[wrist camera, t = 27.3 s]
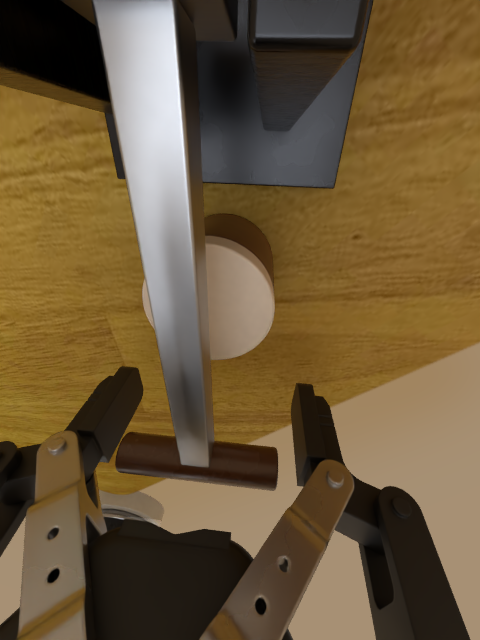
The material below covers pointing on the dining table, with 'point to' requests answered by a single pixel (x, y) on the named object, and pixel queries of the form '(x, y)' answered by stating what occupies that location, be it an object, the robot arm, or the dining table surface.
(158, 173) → the metal lever handle
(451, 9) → the dining table surface
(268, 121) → the black angular piece
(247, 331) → the brown lidded jar
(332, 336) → the dining table surface
